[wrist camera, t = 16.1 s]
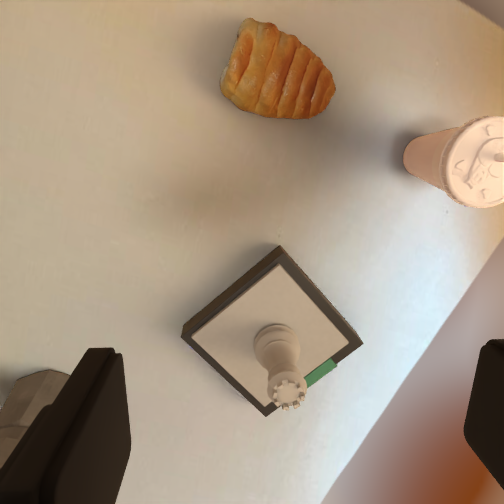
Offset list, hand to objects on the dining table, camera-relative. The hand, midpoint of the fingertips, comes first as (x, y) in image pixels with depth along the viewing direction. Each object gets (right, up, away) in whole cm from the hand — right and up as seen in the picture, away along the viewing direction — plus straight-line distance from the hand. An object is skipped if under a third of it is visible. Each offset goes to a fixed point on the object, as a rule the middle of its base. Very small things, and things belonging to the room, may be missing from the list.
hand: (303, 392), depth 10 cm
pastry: (0, +19, +23) cm, 30 cm away
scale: (+1, -5, +30) cm, 31 cm away
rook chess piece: (+1, -5, +27) cm, 28 cm away
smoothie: (+15, +13, +26) cm, 33 cm away
